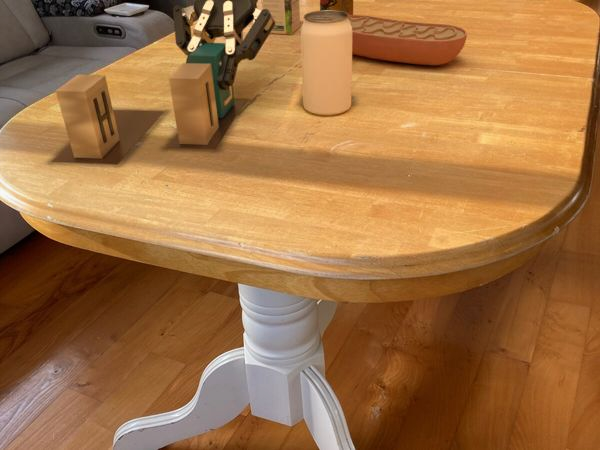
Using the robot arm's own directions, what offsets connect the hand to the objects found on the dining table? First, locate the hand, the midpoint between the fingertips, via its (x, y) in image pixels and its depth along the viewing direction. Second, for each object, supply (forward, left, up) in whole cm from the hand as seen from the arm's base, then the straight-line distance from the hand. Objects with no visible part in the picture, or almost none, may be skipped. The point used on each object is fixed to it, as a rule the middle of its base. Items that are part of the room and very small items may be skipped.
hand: (206, 85), depth 72 cm
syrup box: (+1, +43, -5) cm, 44 cm away
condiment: (+12, +43, -5) cm, 45 cm away
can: (+14, +6, -5) cm, 16 cm away
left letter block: (-11, -6, -5) cm, 13 cm away
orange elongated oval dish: (+22, +27, -5) cm, 36 cm away
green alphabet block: (0, +2, -4) cm, 5 cm away
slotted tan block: (0, -2, -5) cm, 5 cm away
